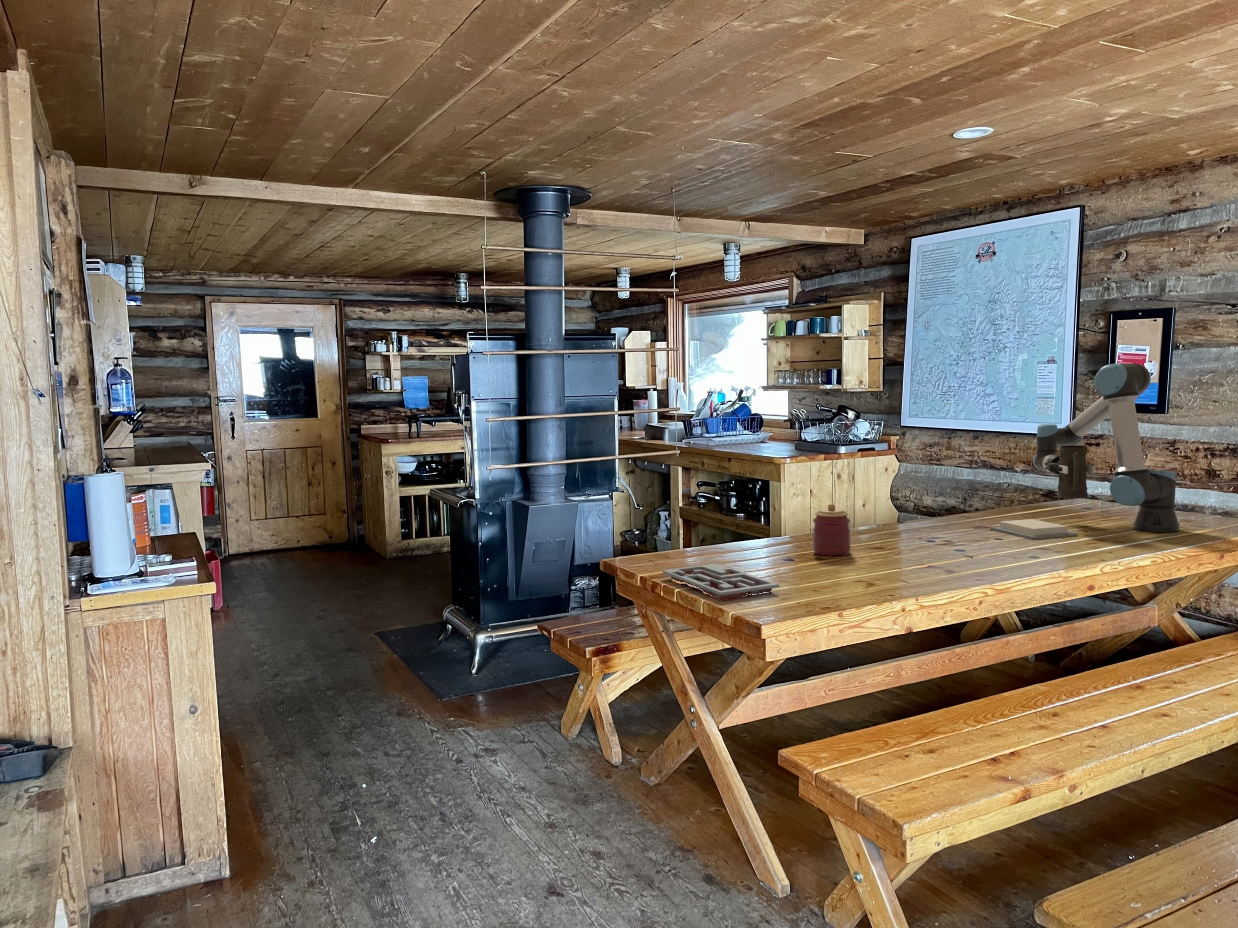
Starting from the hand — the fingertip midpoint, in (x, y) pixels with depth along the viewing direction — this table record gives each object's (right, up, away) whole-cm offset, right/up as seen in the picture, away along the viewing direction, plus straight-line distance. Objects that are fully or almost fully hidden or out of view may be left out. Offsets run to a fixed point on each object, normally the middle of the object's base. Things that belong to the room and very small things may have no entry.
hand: (1080, 470), depth 336 cm
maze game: (-145, -35, -68) cm, 164 cm away
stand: (-16, -24, +6) cm, 29 cm away
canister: (-100, -29, -23) cm, 107 cm away
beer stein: (0, -11, +6) cm, 12 cm away
